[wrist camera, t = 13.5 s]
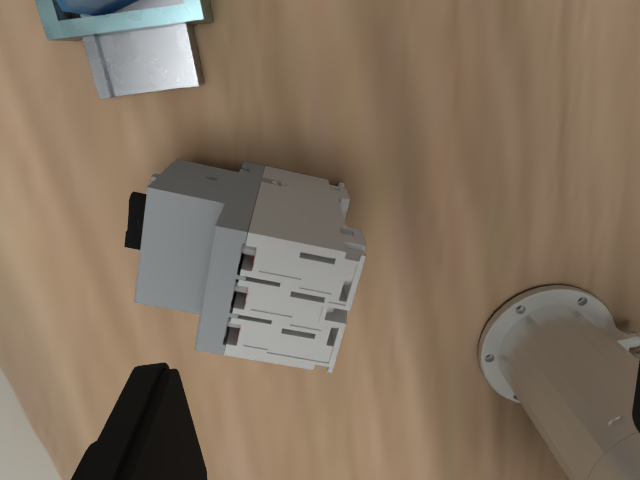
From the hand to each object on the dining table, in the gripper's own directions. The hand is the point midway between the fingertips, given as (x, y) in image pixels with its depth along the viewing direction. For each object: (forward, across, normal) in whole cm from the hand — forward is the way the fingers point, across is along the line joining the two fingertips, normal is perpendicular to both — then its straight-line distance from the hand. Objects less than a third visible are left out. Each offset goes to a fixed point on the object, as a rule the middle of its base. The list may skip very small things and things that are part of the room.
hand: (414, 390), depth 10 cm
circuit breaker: (+31, +7, +5) cm, 32 cm away
